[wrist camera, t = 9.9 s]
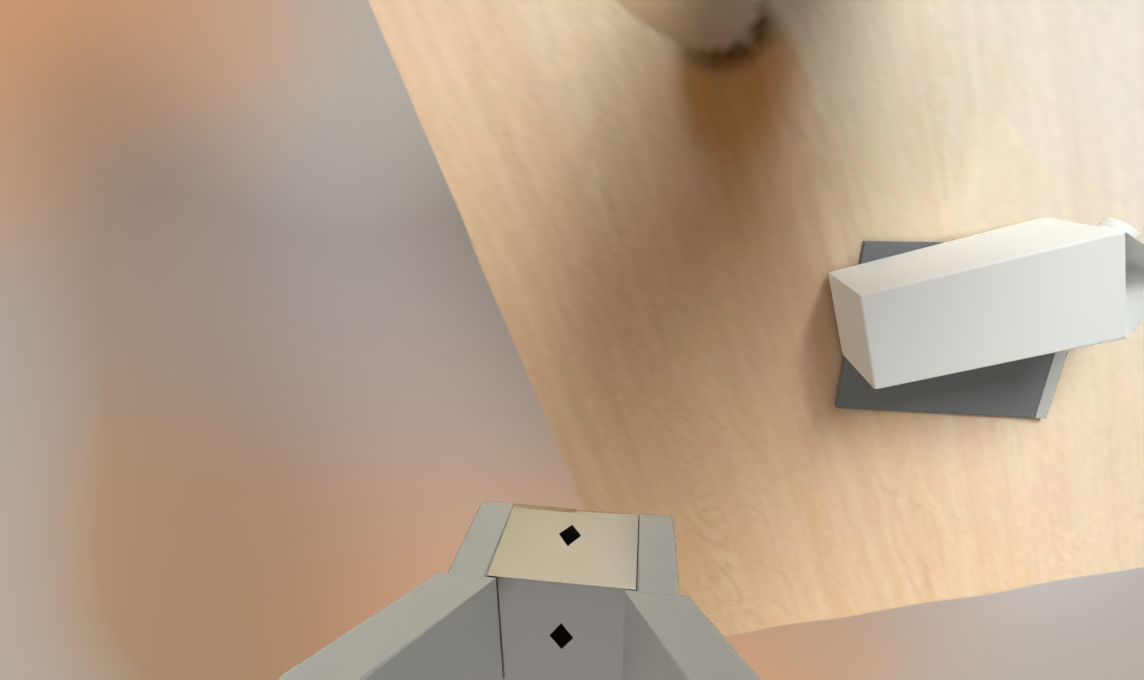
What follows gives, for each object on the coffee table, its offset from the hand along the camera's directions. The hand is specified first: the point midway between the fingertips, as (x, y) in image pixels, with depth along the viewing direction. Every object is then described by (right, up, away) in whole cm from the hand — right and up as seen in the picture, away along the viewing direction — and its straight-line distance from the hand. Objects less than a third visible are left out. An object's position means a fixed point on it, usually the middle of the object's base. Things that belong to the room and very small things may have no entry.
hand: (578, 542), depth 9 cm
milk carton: (+20, +4, +31) cm, 37 cm away
